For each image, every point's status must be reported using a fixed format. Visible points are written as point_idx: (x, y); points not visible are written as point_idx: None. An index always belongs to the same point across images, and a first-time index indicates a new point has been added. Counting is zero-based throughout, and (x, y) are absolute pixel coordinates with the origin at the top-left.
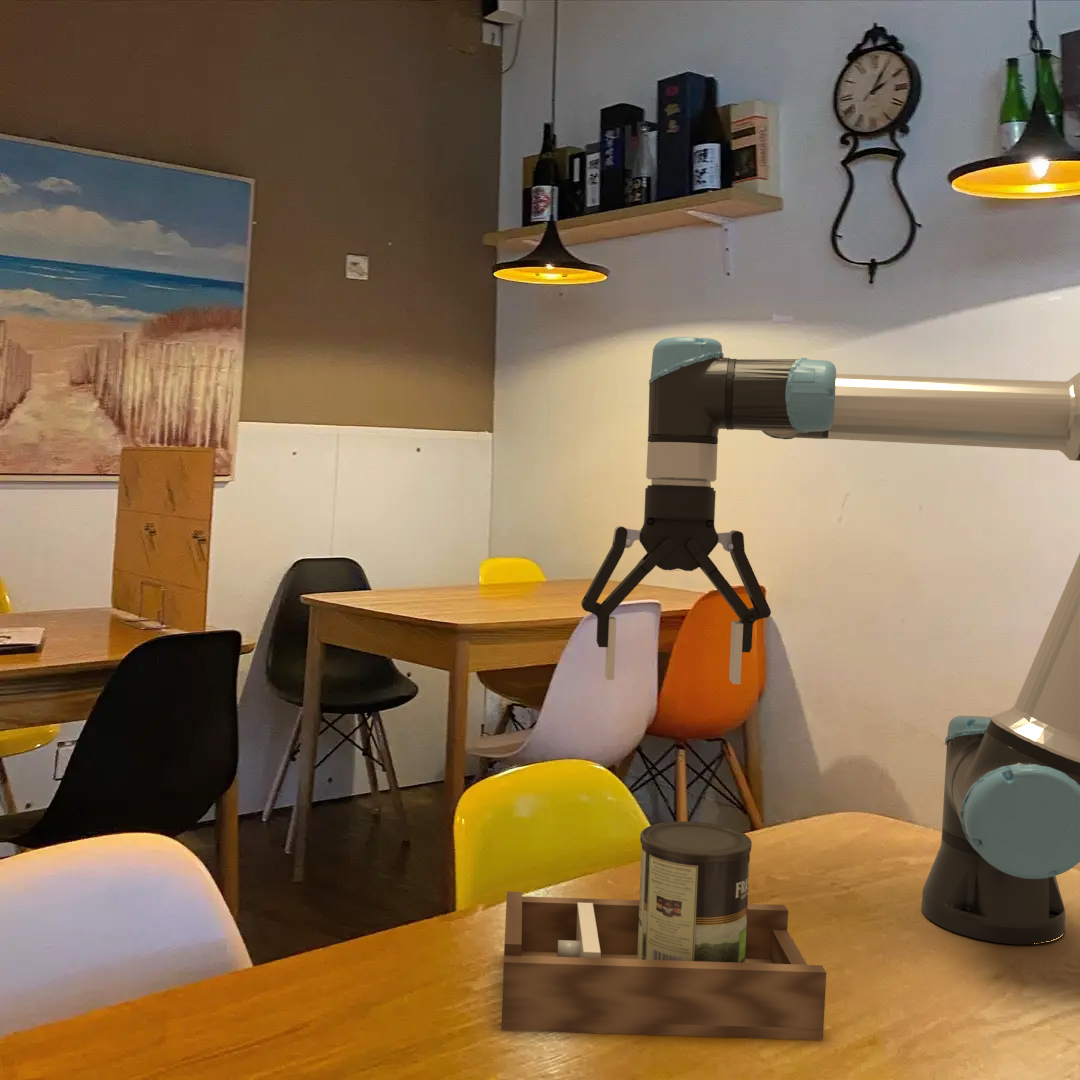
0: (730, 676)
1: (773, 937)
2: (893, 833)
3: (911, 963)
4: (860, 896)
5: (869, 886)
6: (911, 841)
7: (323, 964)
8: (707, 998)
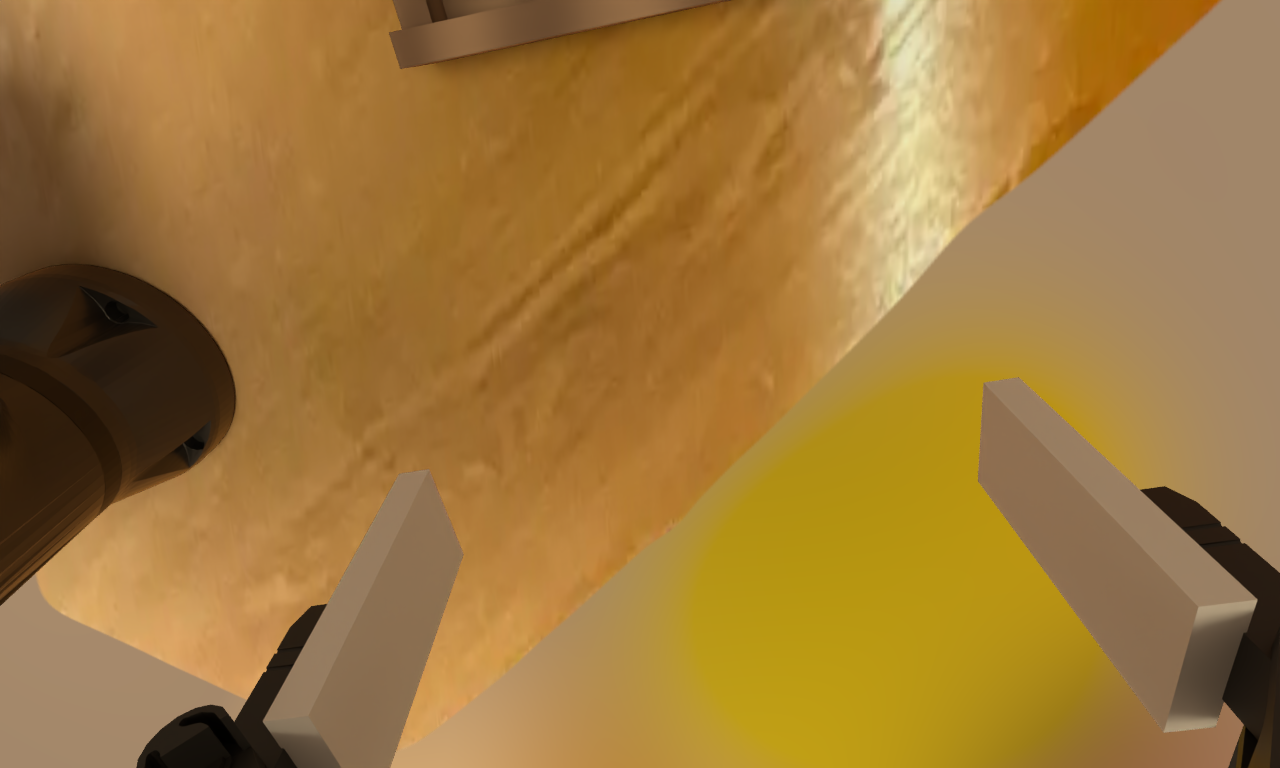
0: (449, 545)
1: (431, 9)
2: None
3: (214, 134)
4: (340, 420)
5: (331, 467)
6: None
7: None
8: None
